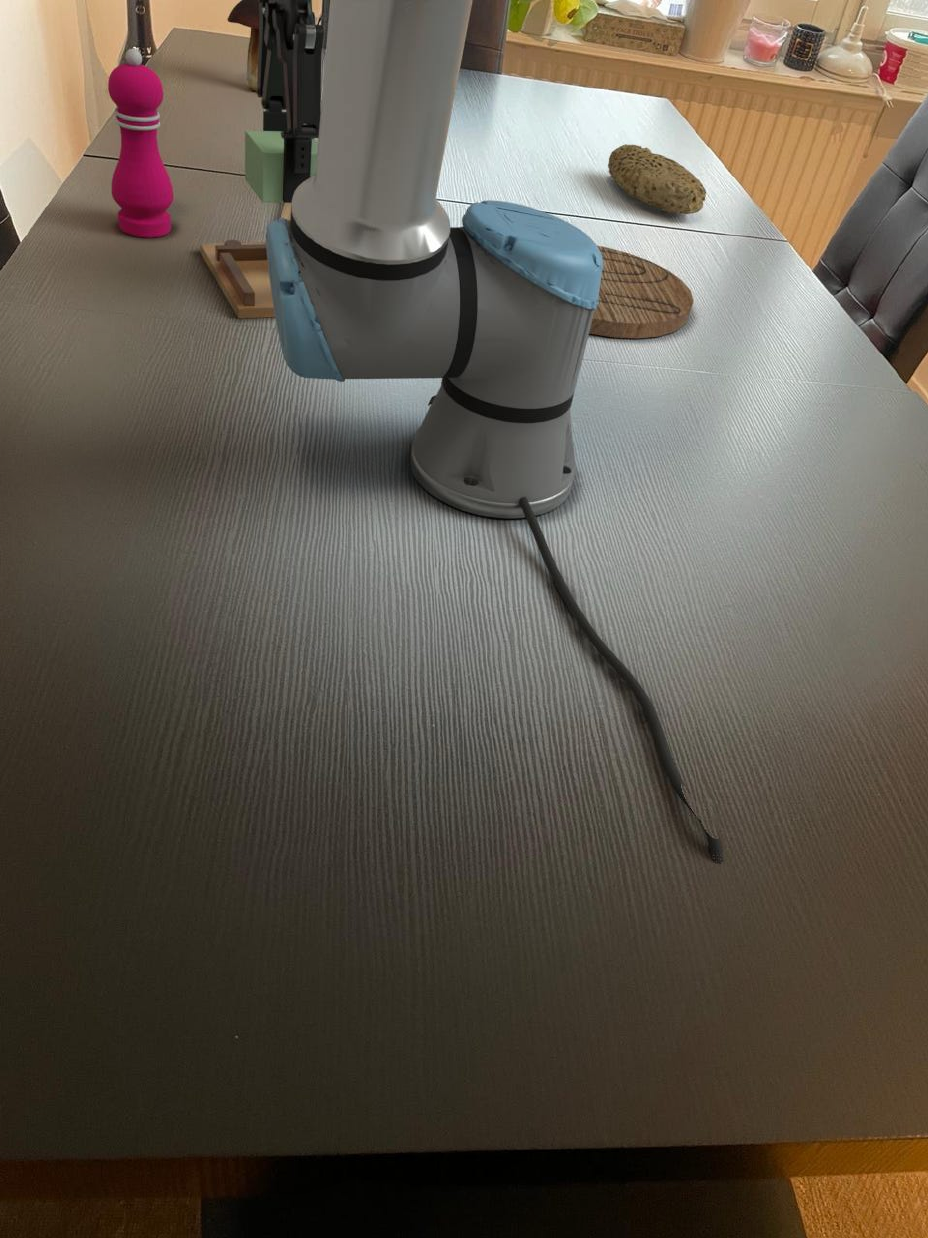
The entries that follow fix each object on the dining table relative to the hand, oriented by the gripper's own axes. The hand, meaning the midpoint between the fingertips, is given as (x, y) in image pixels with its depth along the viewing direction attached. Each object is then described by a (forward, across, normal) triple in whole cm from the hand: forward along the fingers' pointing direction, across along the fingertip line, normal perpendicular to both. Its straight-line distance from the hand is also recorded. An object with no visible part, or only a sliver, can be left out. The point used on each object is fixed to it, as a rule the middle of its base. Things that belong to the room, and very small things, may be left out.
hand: (285, 187), depth 107 cm
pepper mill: (+12, -20, -12) cm, 26 cm away
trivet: (+11, -10, +46) cm, 48 cm away
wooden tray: (+12, -3, 0) cm, 12 cm away
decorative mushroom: (+13, -83, +20) cm, 86 cm away
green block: (0, 0, 0) cm, 0 cm away
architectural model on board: (+12, -28, +17) cm, 35 cm away
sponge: (+8, -28, +70) cm, 76 cm away
